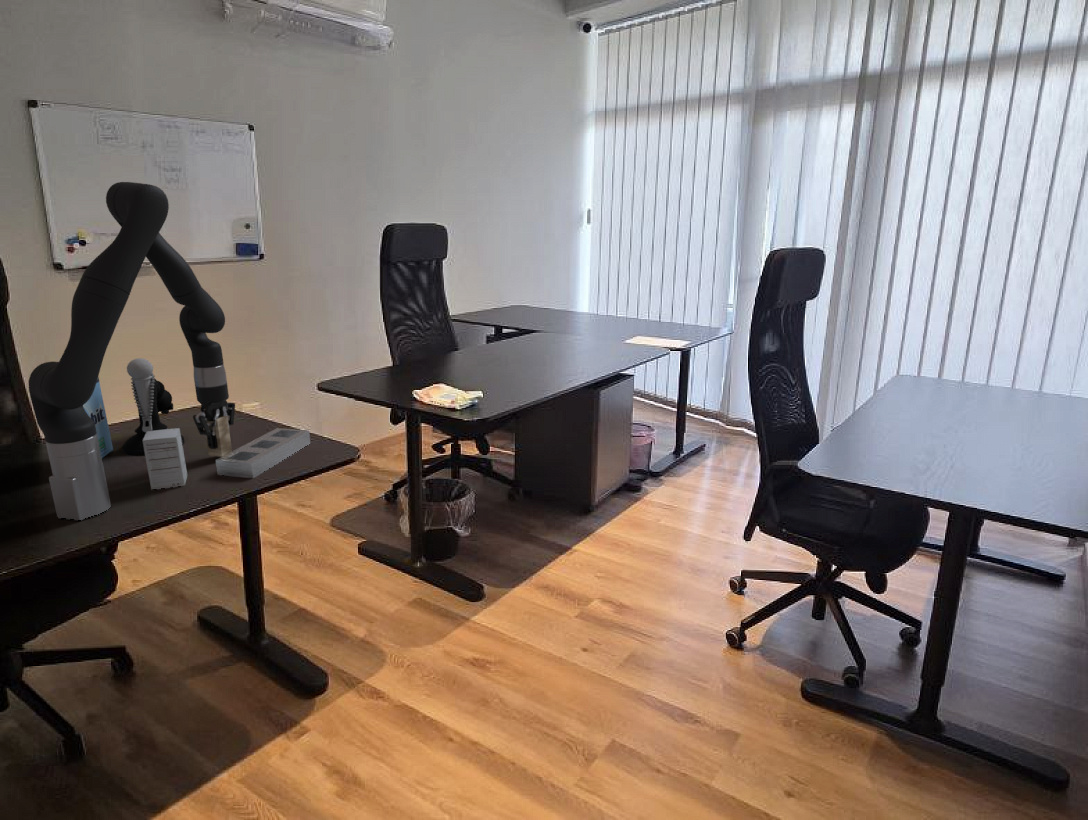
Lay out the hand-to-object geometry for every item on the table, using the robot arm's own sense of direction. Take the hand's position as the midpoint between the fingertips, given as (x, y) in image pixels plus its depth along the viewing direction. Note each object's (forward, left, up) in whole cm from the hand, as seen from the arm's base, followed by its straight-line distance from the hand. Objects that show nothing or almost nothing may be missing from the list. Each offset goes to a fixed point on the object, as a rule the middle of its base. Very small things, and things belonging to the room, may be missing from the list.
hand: (219, 445), depth 185 cm
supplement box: (-18, +1, -4) cm, 18 cm away
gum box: (-11, +32, -4) cm, 34 cm away
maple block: (0, 0, -2) cm, 2 cm away
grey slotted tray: (+2, -12, -4) cm, 13 cm away
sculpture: (+8, +27, -4) cm, 28 cm away
